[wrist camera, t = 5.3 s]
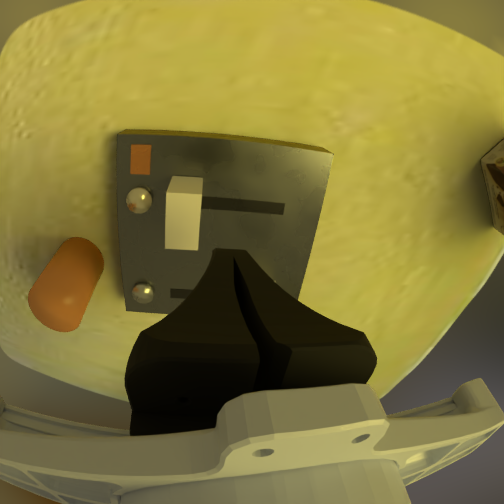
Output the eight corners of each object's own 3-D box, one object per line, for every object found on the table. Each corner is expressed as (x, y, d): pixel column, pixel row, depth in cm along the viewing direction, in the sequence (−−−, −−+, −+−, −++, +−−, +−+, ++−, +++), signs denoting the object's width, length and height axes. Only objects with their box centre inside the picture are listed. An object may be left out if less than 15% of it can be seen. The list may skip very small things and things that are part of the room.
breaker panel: (287, 302, 26) (293, 320, 24) (130, 294, 24) (125, 314, 22) (323, 147, 20) (336, 155, 18) (126, 129, 17) (115, 135, 15)
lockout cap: (106, 282, 23) (86, 335, 18) (63, 279, 22) (37, 327, 17) (101, 238, 21) (74, 286, 16) (55, 236, 20) (21, 280, 15)
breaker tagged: (199, 226, 19) (197, 250, 17) (170, 225, 19) (165, 248, 16) (203, 177, 18) (202, 194, 15) (172, 175, 17) (166, 192, 15)
